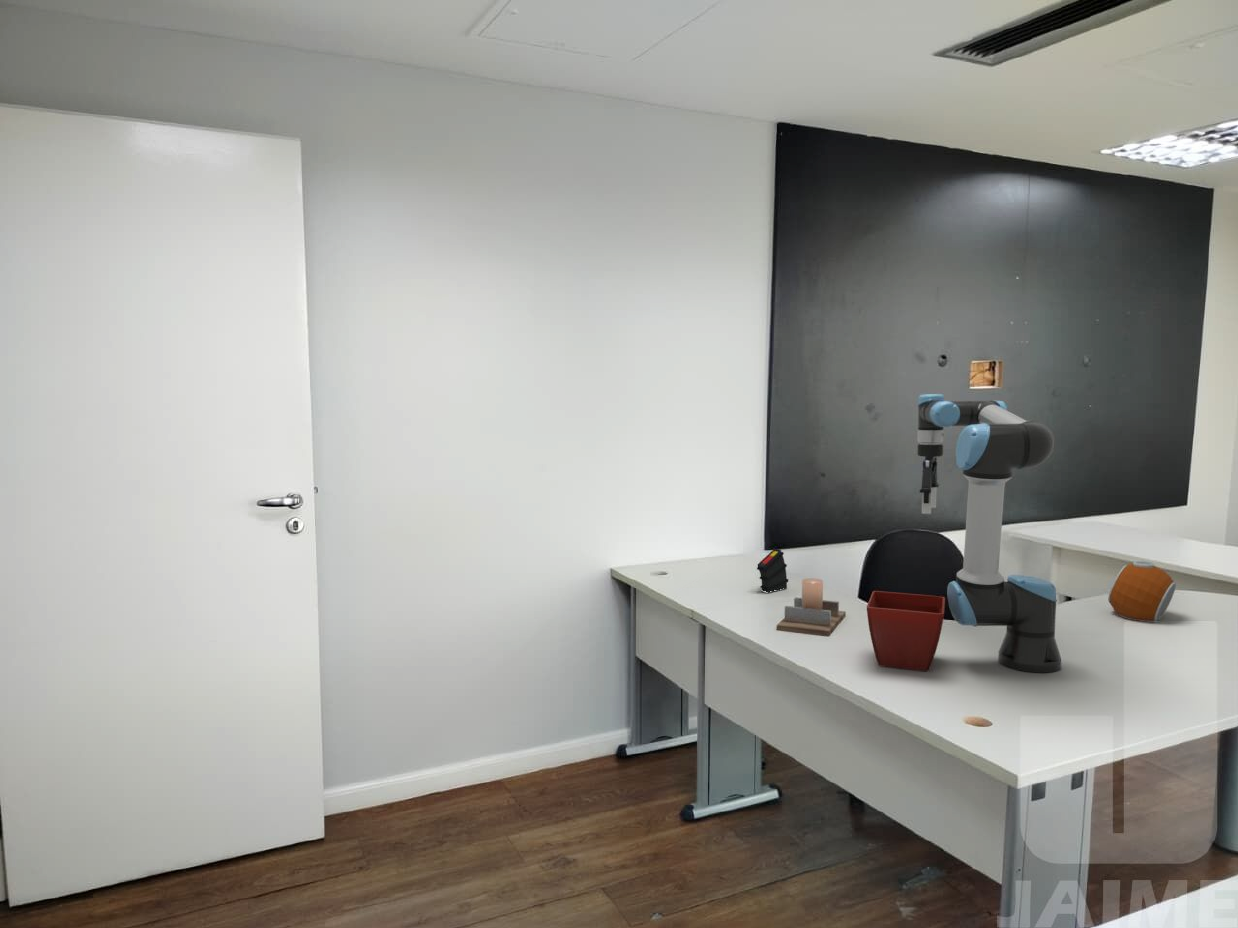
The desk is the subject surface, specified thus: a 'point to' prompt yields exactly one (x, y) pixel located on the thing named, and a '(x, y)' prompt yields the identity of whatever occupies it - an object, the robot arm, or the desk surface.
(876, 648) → the plant pot
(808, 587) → the peach pillar candle
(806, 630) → the rack
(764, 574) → the magazine
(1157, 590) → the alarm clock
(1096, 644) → the desk surface
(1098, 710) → the desk surface
